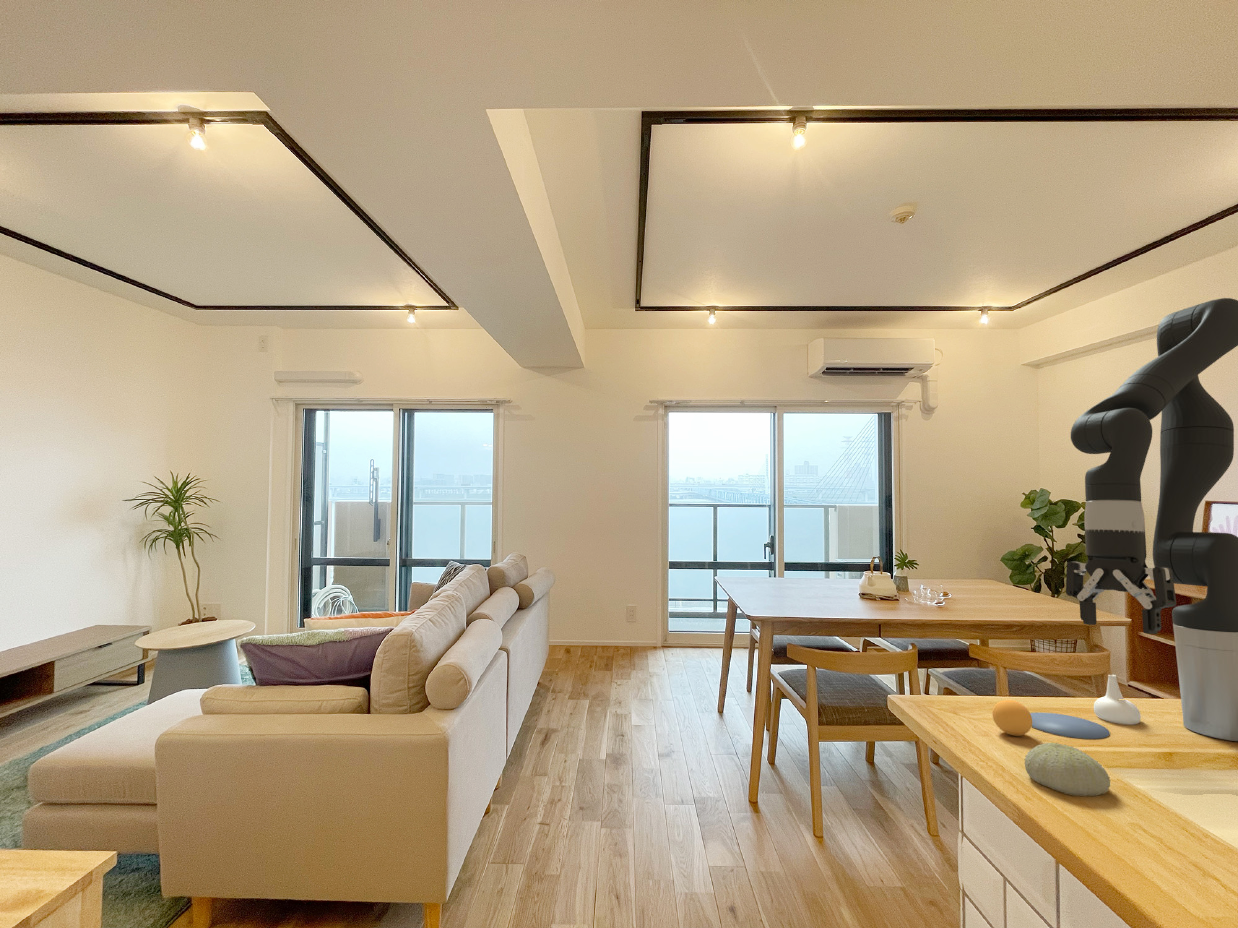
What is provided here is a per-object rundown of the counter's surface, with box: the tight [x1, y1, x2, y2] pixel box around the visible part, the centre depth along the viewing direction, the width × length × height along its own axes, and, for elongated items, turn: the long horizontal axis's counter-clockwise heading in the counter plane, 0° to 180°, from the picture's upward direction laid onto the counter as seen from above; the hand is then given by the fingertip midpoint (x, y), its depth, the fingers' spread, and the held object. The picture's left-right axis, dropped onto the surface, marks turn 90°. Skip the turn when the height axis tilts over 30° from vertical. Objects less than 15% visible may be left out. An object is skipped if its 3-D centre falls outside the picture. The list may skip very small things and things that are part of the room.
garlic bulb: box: [1093, 674, 1142, 726], centre depth 101 cm, size 6×6×8 cm
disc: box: [1030, 712, 1111, 740], centre depth 98 cm, size 12×12×1 cm
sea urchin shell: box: [1024, 742, 1111, 797], centre depth 77 cm, size 9×8×8 cm
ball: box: [991, 699, 1033, 737], centre depth 94 cm, size 6×6×6 cm
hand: (1118, 628), depth 91 cm, fingers open, 8 cm apart
